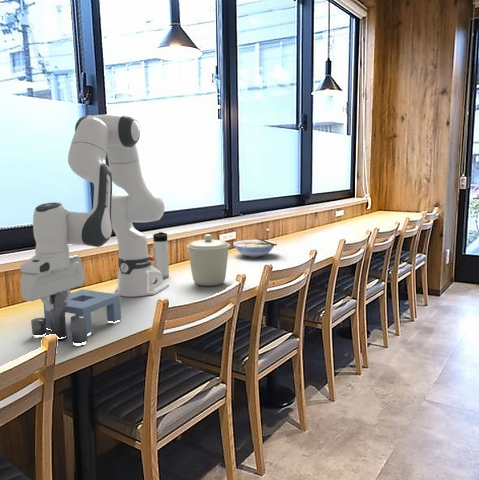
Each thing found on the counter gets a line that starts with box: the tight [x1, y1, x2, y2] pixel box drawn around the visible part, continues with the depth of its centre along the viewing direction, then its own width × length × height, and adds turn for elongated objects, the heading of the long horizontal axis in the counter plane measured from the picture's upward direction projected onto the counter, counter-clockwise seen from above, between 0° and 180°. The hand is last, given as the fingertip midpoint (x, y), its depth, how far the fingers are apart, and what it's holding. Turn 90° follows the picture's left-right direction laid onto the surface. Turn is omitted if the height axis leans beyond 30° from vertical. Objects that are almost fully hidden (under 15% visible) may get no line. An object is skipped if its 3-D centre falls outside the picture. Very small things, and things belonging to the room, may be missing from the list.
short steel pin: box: [30, 317, 48, 335], centre depth 139 cm, size 4×4×5 cm
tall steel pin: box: [49, 291, 68, 338], centre depth 135 cm, size 4×4×14 cm
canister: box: [186, 233, 231, 287], centre depth 196 cm, size 18×18×21 cm
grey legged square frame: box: [43, 289, 122, 334], centre depth 147 cm, size 16×16×9 cm
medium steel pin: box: [70, 314, 88, 343], centre depth 132 cm, size 4×4×8 cm
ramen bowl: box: [233, 238, 277, 258], centre depth 253 cm, size 25×23×8 cm
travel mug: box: [152, 231, 170, 280], centre depth 208 cm, size 6×7×20 cm
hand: (57, 307), depth 134 cm, fingers closed on tall steel pin, 4 cm apart
